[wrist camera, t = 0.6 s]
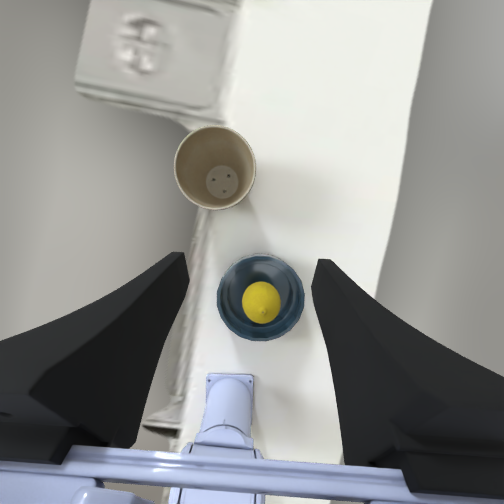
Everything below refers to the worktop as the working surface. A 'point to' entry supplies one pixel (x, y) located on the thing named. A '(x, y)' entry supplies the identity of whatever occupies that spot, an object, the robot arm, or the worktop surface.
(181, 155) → the flower pot
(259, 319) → the lemon
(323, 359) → the worktop surface
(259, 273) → the bowl
